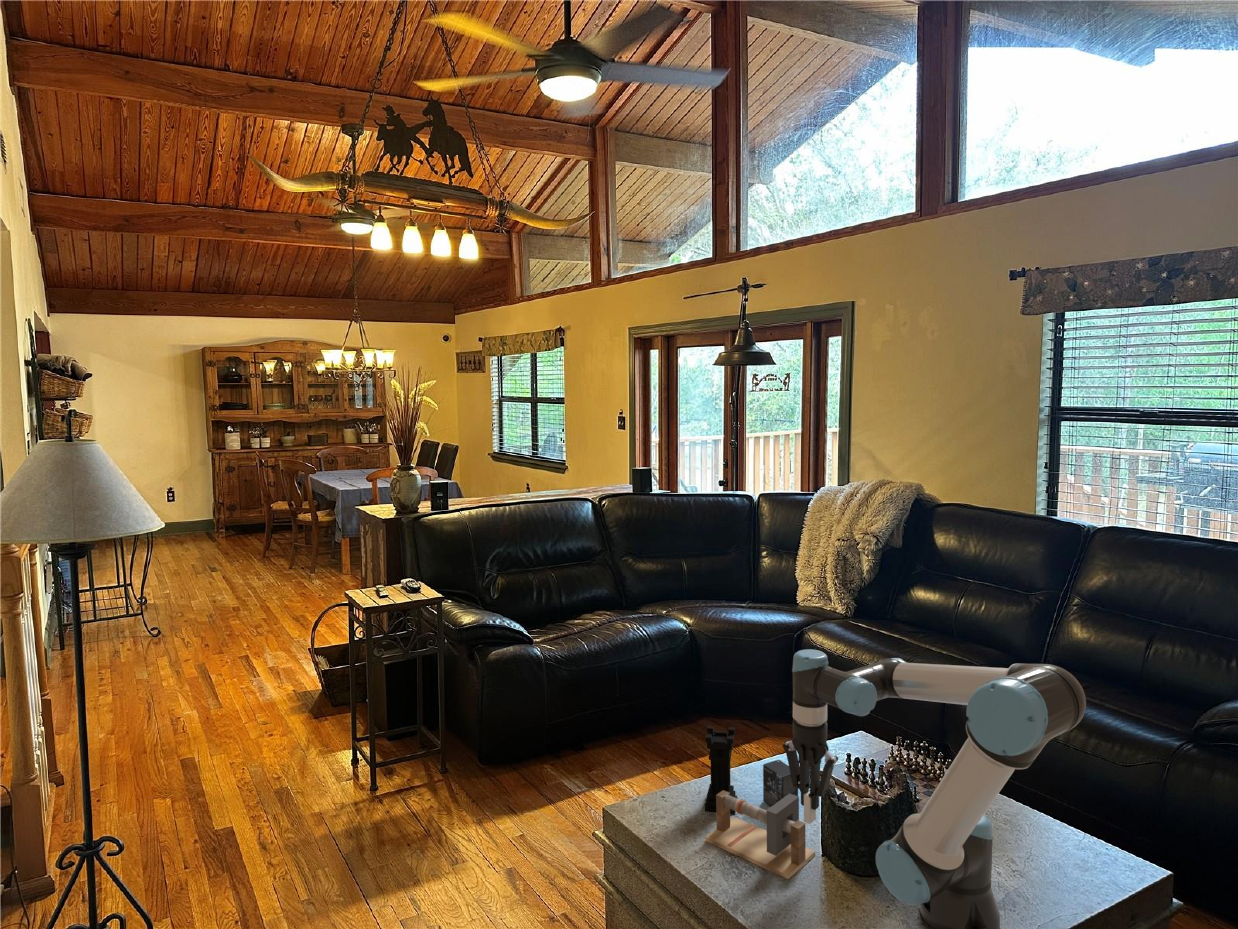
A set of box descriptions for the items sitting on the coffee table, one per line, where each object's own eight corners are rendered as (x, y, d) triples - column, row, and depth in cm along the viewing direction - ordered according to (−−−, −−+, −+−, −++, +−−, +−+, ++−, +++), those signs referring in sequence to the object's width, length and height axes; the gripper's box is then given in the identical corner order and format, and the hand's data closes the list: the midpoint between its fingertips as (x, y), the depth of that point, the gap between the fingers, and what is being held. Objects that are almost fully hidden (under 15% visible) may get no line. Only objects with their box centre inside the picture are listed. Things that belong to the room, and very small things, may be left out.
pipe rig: (815, 855, 185) (815, 814, 184) (788, 879, 176) (788, 836, 175) (734, 820, 201) (733, 782, 200) (705, 841, 192) (705, 801, 191)
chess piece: (735, 814, 204) (734, 740, 202) (704, 811, 205) (703, 738, 203) (737, 798, 211) (736, 726, 210) (707, 796, 213) (706, 725, 211)
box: (762, 802, 209) (762, 763, 208) (779, 796, 212) (779, 758, 211) (781, 815, 203) (781, 776, 202) (799, 810, 205) (798, 771, 204)
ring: (798, 837, 186) (798, 797, 185) (776, 856, 179) (775, 814, 178) (789, 833, 188) (789, 793, 187) (766, 851, 181) (766, 810, 180)
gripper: (844, 722, 174) (844, 824, 176) (793, 707, 183) (793, 804, 185) (828, 733, 169) (827, 838, 171) (775, 717, 178) (775, 817, 180)
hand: (809, 820), depth 178 cm, fingers closed
